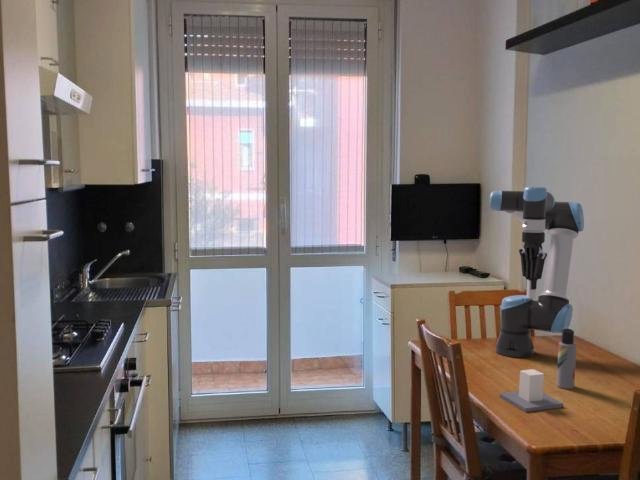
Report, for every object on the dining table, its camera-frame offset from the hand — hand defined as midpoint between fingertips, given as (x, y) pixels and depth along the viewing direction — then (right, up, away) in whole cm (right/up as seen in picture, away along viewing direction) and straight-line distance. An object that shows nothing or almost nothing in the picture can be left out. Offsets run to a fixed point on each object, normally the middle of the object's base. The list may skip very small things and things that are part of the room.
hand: (530, 297), depth 229 cm
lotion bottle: (+10, -30, -5) cm, 32 cm away
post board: (-6, -32, -20) cm, 38 cm away
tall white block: (-6, -31, -20) cm, 37 cm away
